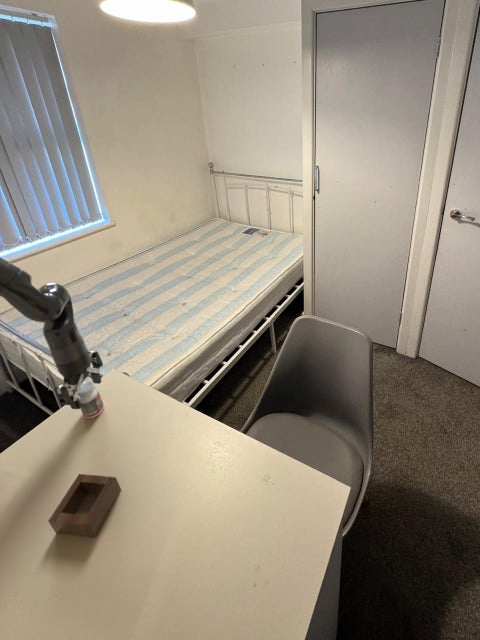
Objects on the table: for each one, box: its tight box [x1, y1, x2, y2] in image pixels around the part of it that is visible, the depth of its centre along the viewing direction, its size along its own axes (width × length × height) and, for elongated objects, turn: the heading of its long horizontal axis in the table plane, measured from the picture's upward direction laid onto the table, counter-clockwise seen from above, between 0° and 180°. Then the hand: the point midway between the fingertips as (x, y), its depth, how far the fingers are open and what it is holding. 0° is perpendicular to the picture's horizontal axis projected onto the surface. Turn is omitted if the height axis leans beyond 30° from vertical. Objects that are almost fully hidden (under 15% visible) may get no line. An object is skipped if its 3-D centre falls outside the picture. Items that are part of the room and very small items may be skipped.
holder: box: [48, 473, 122, 539], centre depth 72 cm, size 9×9×5 cm
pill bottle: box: [77, 381, 105, 419], centre depth 94 cm, size 5×5×10 cm
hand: (88, 394), depth 93 cm, fingers open, 8 cm apart
